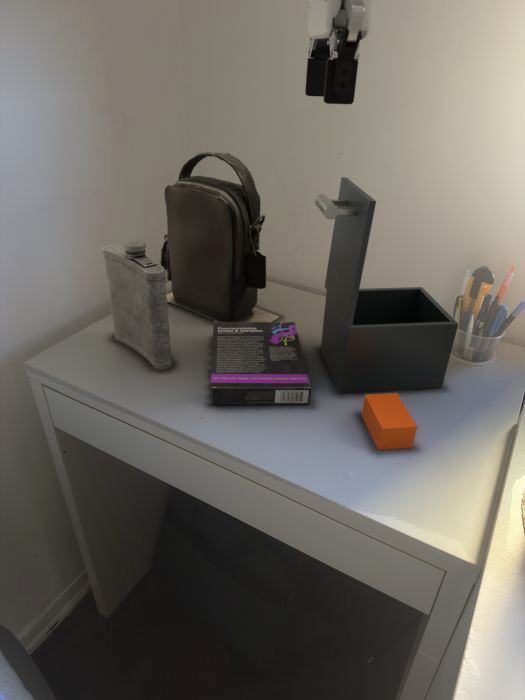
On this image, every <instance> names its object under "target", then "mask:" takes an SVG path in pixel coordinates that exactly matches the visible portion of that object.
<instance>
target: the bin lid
mask: <svg viewBox="0 0 525 700" xmlns="http://www.w3.org/2000/svg"><path fill="white" fill-rule="evenodd" d="M339 183H340V185H339V190H338V197H337V199H335V198H334V199H333V198H329V197H328V196H327V195H326V194H319V195H317V196H316V198H315V199H314V204H315V206H316V208H317V209H318V210H319V211H320V212H321V213H322V214H323V215H324V217H325V218H326V219H327V220H334V221H333V229H332V235H331V242H330V249H329V256H328V261H327V268H326V275H325V281H324V288H325V290H326V293H327V292H328V293H329V295H330V297H331V299H332V300H333V302H334V304H335V306H336V307H337V309H338V311H339V312H340V314H341V316H342V318H343V319H344V321H345V323H346V324H347V325H352V324H353V319H354V314H355V309H356V303H357V298H358V293H359V289H361V288H360V287H361V282H362V278H363V272H364V267H365V261H366V256H367V251H368V246H369V240H370V236H371V231H372V225H373V220H374V215H375V210H376V204H377V201H376V199H374V198H373V197H372V196H371V195H369V194H368V193H367V192H365V191H364V190H363V189H362V188H361V187H360V186H358V185H357V184H356V183H354V182H353V181H352V180H351V179H350V178H348V177H343V176H341V177H340V182H339Z"/></svg>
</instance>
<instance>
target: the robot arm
mask: <svg viewBox="0 0 525 700" xmlns="http://www.w3.org/2000/svg"><path fill="white" fill-rule="evenodd" d="M307 7H308V8H307V33H308V36H309V37H310V38H309V47H308V53H307V56H308V58H307V62H306V76H305V87H304V88H305V89H304V94H305V96H307V97H321V98H322V97H323V98H322V101H323V103H325V104H328V105H352V104H353V103H354V101H355V96H356V95H355V94H356V86H357V85H356V84H357V77H358V70H359V69H358V68H359V60H360V55H361V49H360V48H361V47H360V42H361V41H364V40H365V39H366V38H367V37H368V36H369V35H370V33H371V29H372V21H373V9H374V0H308V6H307Z"/></svg>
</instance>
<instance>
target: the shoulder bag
mask: <svg viewBox="0 0 525 700" xmlns="http://www.w3.org/2000/svg"><path fill="white" fill-rule="evenodd" d="M208 157H210V158H211V157H213V158H217V159H219V160H220V161H223V162H225V163H226V164H227V165H229V166H230V167H231V168H232V170H233V171H234V172H235V174H236V176H237V177H238V179H239V182H240V184H239V183H235V182H231V181H228V180H223V179H219V178H215V177H210V176H204V175H193V176H192V173H193V171H194V169H195V167H196V166H197V165H198V164H199V163H200V162H201V161H202V160H204V159H205V158H208ZM255 182H256V181H255V180H254V177H253V175H252V172H251V171H250V170H249V169H248V167H247V166H246V164H244V162H243V161H241V160H240V159H239V158H238V157H236V156H234V155H232V154H231V153H229V152H212V151H209V150H205V151H201V152H197V153H195V155H194V156H193V157H192V158H190V159H188V160H187V161H186V162H185V163H184V164H183V165H182V167H181V169H180V171H179V175H178V177H177V181H175V182H174V183H173V184H171V183H169V184H167V185H166V186H165V188H164V201H165V208H166V209H165V210H166V224H167V233H166V234H164V237H163V239H164V241H163V244H162V246H161V248H160V251H161V252H160V261H159V262H160V263H159V264H160V265H161V266H162V267H163V268H164V269H165V271H166V273H167V274H166V276H167V277H166V278H167V280H168V282H169V281H170V282H171V292H169V293H166V294H167V303H170V304H172V305H175V306H178V307H180V308H182V309H185V310H187V311H189V312H192V313H195V314H197V315H200V316H202V317H204V318H206V319H209V320H212V321H213V322H214V321H216V322H273V321H275V320H277V319H278V318H280V316H279V315H277V314H274V313H272V312H269V311H266V310H263V309H260V308H258V307H256V305H257V303H258V292H259V290H264V289H266V288H267V255H266V254H264V253H262V252H261V251H260V237H261V232H262V228H263V227H262V226H264V225H263V224H264V222H265V221H266V215H265V214H262V215H261V196H260V194H259V192H258V190H257V187H256V183H255Z"/></svg>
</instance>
